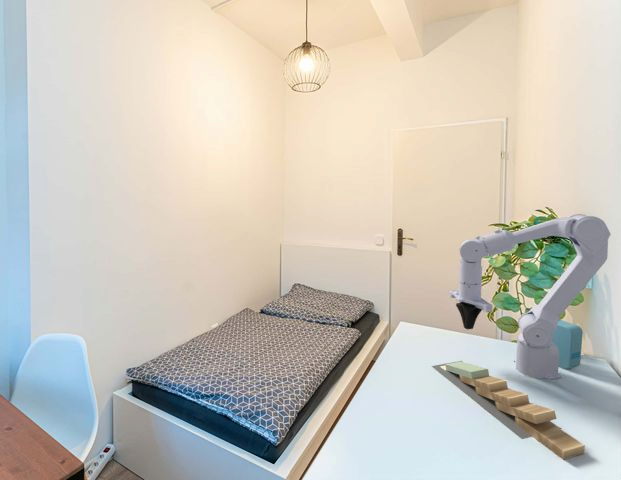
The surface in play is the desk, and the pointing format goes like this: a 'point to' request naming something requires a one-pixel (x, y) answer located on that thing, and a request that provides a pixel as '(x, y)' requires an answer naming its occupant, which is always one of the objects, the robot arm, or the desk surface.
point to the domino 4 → (552, 438)
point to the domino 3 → (528, 412)
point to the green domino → (467, 370)
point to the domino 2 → (505, 396)
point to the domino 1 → (485, 383)
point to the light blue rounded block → (568, 344)
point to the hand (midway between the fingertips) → (468, 328)
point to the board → (483, 401)
